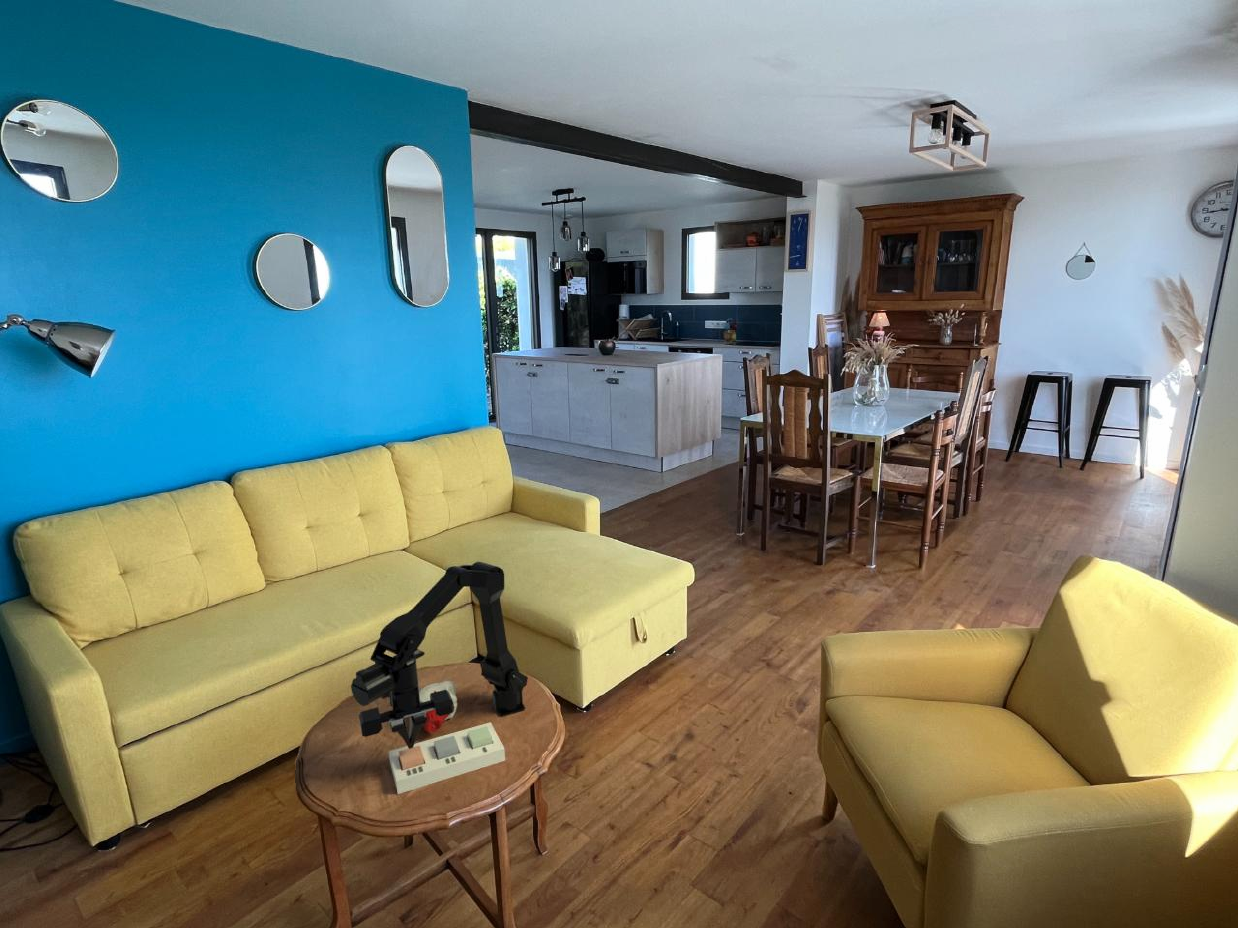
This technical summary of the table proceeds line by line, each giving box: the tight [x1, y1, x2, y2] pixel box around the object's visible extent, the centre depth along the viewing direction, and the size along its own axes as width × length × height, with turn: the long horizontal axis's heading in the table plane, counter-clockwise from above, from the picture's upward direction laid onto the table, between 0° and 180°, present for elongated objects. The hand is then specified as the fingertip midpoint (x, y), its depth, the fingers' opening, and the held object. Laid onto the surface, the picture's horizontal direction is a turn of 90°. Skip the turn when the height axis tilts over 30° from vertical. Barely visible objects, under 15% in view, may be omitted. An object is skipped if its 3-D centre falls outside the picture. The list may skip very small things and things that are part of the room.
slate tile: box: [434, 736, 459, 760], centre depth 151 cm, size 4×4×2 cm
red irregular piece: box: [419, 679, 458, 734], centre depth 165 cm, size 9×11×15 cm
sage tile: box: [468, 726, 492, 750], centre depth 154 cm, size 4×4×2 cm
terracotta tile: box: [399, 746, 424, 770], centre depth 148 cm, size 4×4×2 cm
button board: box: [388, 722, 506, 795], centre depth 151 cm, size 23×11×3 cm, turn 116°
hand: (410, 747), depth 147 cm, fingers closed
